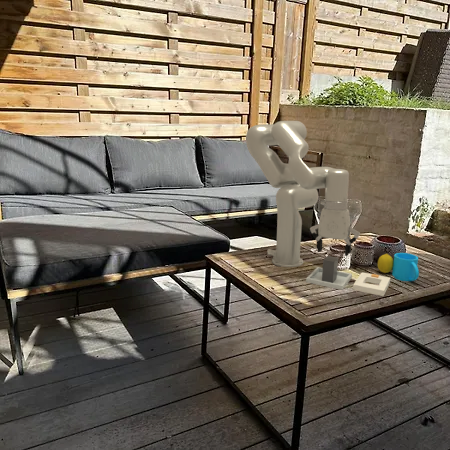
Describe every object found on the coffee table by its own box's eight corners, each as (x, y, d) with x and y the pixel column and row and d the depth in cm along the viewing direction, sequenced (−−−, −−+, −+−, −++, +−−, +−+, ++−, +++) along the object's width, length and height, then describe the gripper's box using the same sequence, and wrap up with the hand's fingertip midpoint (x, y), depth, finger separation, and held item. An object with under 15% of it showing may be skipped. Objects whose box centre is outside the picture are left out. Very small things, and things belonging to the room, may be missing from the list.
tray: (305, 283, 149) (306, 278, 149) (317, 271, 160) (317, 267, 160) (342, 291, 143) (342, 286, 143) (351, 278, 154) (352, 273, 154)
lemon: (393, 277, 156) (395, 256, 154) (377, 275, 157) (379, 255, 155) (390, 271, 161) (393, 252, 159) (375, 270, 162) (377, 251, 160)
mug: (387, 273, 160) (389, 253, 157) (407, 272, 161) (409, 252, 159) (405, 286, 148) (408, 264, 146) (426, 284, 150) (429, 263, 147)
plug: (321, 280, 150) (323, 259, 148) (325, 276, 155) (327, 255, 152) (332, 283, 148) (334, 261, 146) (336, 278, 153) (338, 257, 151)
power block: (352, 291, 143) (353, 283, 143) (361, 278, 154) (361, 271, 153) (383, 297, 139) (384, 289, 138) (389, 284, 150) (390, 276, 149)
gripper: (307, 205, 145) (306, 252, 149) (359, 209, 137) (355, 259, 141) (314, 201, 151) (312, 246, 155) (364, 205, 143) (360, 253, 147)
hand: (333, 253), depth 148 cm, fingers open, 9 cm apart
